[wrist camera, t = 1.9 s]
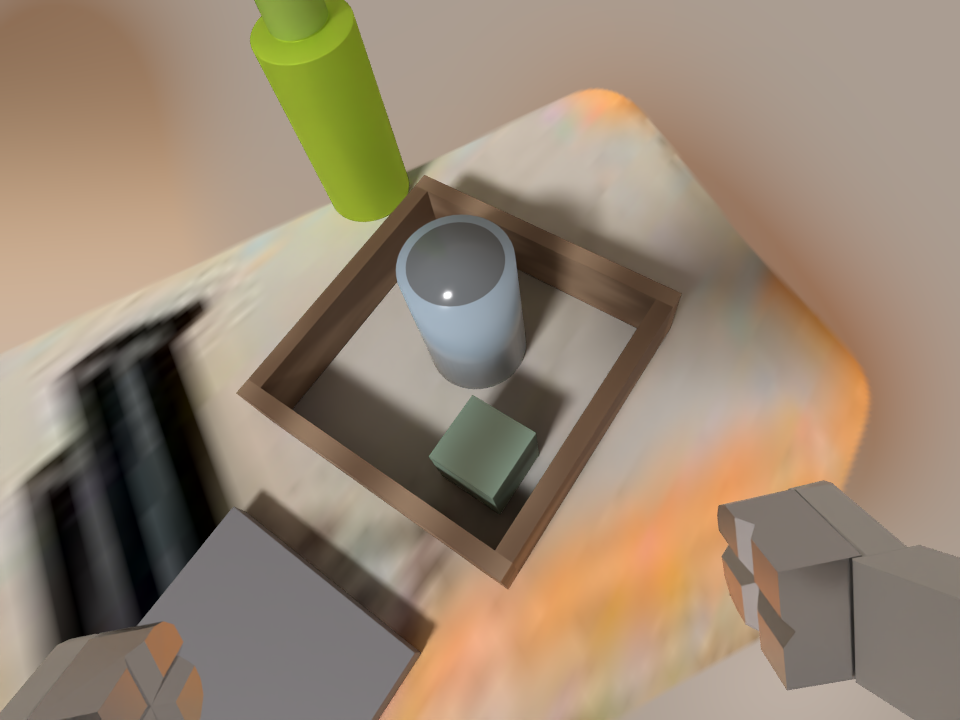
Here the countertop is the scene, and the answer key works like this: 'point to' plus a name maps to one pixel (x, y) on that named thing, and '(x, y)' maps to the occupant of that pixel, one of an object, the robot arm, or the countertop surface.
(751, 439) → the countertop surface
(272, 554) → the board
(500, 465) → the block
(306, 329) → the crate
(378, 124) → the soap dispenser
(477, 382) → the cup
